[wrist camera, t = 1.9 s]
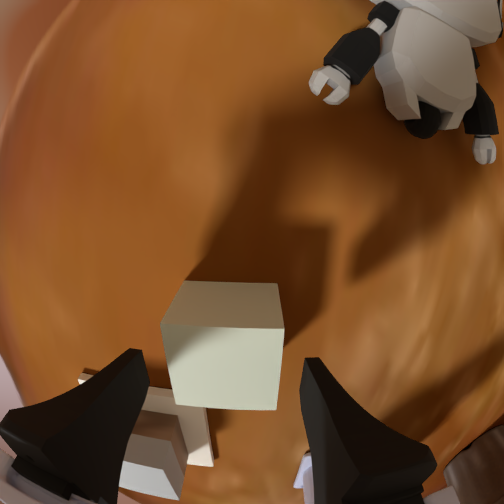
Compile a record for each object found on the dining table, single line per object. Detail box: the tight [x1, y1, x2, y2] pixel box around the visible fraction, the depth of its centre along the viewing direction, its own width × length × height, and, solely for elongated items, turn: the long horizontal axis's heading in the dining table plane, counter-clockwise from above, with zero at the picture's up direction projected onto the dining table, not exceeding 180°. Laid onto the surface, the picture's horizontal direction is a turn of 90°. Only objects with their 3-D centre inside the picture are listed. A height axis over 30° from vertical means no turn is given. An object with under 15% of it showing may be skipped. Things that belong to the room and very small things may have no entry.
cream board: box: [78, 373, 214, 467], centre depth 19 cm, size 10×10×1 cm
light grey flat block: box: [119, 434, 184, 500], centre depth 15 cm, size 6×6×2 cm
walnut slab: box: [131, 410, 189, 475], centre depth 17 cm, size 6×6×2 cm
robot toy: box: [309, 0, 503, 164], centre depth 8 cm, size 12×4×15 cm
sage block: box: [160, 281, 285, 410], centre depth 14 cm, size 5×5×4 cm
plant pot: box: [443, 425, 504, 504], centre depth 16 cm, size 16×16×16 cm
